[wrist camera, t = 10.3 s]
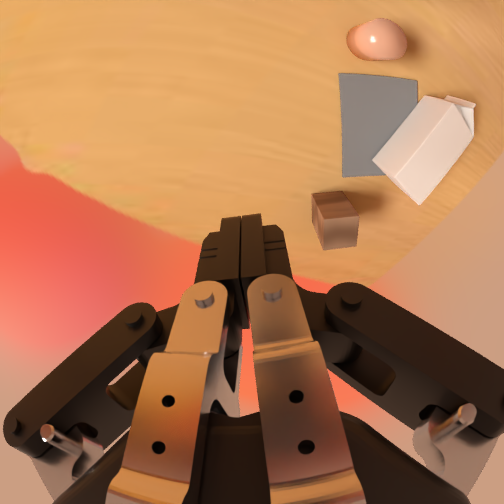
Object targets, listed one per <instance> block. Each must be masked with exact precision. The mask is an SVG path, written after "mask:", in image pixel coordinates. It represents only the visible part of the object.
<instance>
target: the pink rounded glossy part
mask: <svg viewBox="0 0 504 504" xmlns="http://www.w3.org/2000/svg"><path fill="white" fill-rule="evenodd" d="M347 45H348V47H349V49H350V51H351V52H352V53H353V54H354V55H355V56H356V57H358V58H360V59H362V60H368V61H370V60H393V59H398V58H400V57H402V56H403V55H404V54H405V52H406V49H407V39H406V36H405V34H404V32H403V31H402V29H401V28H400V27H399V26H398V25H397V24H396V23H394V22H393V21H391V20H388V19H384V18H379V19H375V20H372V21H369V22H366V23H364V24H361V25H358V26H356V27H353V28H352V29H350V31H349V32H348V34H347Z"/></svg>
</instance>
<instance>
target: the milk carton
mask: <svg viewBox="0 0 504 504" xmlns="http://www.w3.org/2000/svg"><path fill="white" fill-rule="evenodd" d="M475 106H476V104H475V103H472V102H469V101H466V100H463V99H459V98H456V97H452V96H449V95H447V96H446V97H445V99H442V98H437V97H432V96H426V95H424V97H423V98H422V99H421V100H420V102H419V103H418V104H417V106H416V107H415V108H414V109H413V111H412V112H411V113H410V114H409V116H408V117H407V118H406V119H405V121H404V122H403V123H402V124H401V125H400V127H399V128H398V129H397V130H396V132H395V133H394V134H393V135H392V137H391V138H390V139H389V140H388V141H387V143H386V144H385V145H384V146H383V147H382V149H381V150H380V151H379V152H378V153H377V155H376V156H375V157H374V158H373V160H372V161H373V162H374V163H375V164H376V165H377V166H378V167H379V168H380V169H381V170H382V171H383V172H384V173H385V174H386V175H387V176H388V177H389V178H390V179H391V180H392V181H393V182H394V183H395V184H396V185H397V186H398V187H399V188H400V189H401V190H402V191H403V192H404V193H406V194H407V195H408V196H409V197H410V198H411V199H412V200H414V201H415V202H416V203H417V204H418V205H421V204H422V202H423V201H424V200H425V199H426V198H427V197H428V195H429V194H430V193H431V192H432V191H433V189H434V188H435V187H436V186H437V185H438V183H439V182H440V181H441V180H442V178H443V177H444V176H445V175H446V173H447V172H448V171H449V170H450V168H451V167H452V166H453V164H454V163H455V162H456V161H457V159H458V158H459V157H460V155H461V154H462V153H463V151H464V150H465V149H466V147H467V146H468V144H469V143H470V142H471V140H472V139H473V137H474V107H475Z"/></svg>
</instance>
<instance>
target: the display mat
mask: <svg viewBox="0 0 504 504" xmlns="http://www.w3.org/2000/svg"><path fill="white" fill-rule="evenodd" d="M339 85H340V99H341V118H342V177H358V176H379V175H386V174H385V173H384V172H383V171H382V170H381V169H380V168H379V167H378V166H377V165H376V164H375V163H374V162H373V161H372V160H373V158H374V157H375V156H376V155H377V153H378V152H379V151H380V150H381V149H382V147H383V146H384V145H385V144H386V143H387V141H388V140H389V139H390V138H391V137H392V135H393V134H394V133H395V132H396V130H397V129H398V128H399V127H400V125H401V124H402V123H403V122H404V121H405V119H406V118H407V117H408V116H409V114H410V113H411V112H412V111H413V109H414V108H415V107H416V106H417V81H415V80H409V79H402V78H395V77H386V76H376V75H364V74H345V73H339Z"/></svg>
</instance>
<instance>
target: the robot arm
mask: <svg viewBox="0 0 504 504" xmlns="http://www.w3.org/2000/svg"><path fill="white" fill-rule="evenodd" d="M249 319H250V323H251V330H252V338H253V346H254V351H253V360H254V368H255V377H256V385H257V393H258V401H259V408H260V412H256V413H253V414H250V415H246V416H242V417H240V408H239V400H238V394H239V383H240V372H241V361H242V350H243V347H242V329H249V328H250V324H249ZM135 359H137V360H138V361H139V362H138V363H137V364H136V365H135V366H133V367H132V368H131V369H130V370H129V371H128V372H127V373H126V374H125V375H124V376H122V377H121V378H120V379H119V380H118V381H117V382H116V383H115V384H113V385H108V384H109V383H110V382H111V381H112V380H113V379H114V378H115V377H117V376H118V375H119V374H120V373H121V372H122V371H123V370H124V369H125V368H126V367H128V366H129V365H130V364H131V363H132V362H133V361H134V360H135ZM327 369H329V370H330V371H332V372H333V373H334V374H335V375H337V376H338V377H339V378H341V379H342V380H343V381H345V382H346V383H348V384H349V385H350V386H351V387H353V388H354V389H356V390H357V391H358V392H360V393H361V394H362V395H364V396H365V397H367V398H368V399H369V400H371V401H372V402H374V403H375V404H376V405H378V406H379V407H381V408H382V409H384V410H385V411H386V412H388V413H389V414H391V415H392V416H394V417H395V418H396V419H398V420H400V421H401V422H402V423H404V424H405V425H407V426H408V427H410V428H411V429H413V430H414V435H413V446H414V449H415V451H416V452H417V454H418V455H420V456H421V457H422V458H423V460H424V461H425V463H426V467H427V468H426V467H424V466H423V465H421V464H420V463H419V462H417V461H416V460H415V459H413V458H411V457H410V456H409V455H408V454H406V453H405V452H403V451H402V450H401V449H399V448H398V447H397V446H395V445H394V444H393V443H391V442H390V441H389V440H387V439H386V438H385V437H383V436H382V435H381V434H380V433H378V432H377V431H375V430H374V429H373V428H372V427H371V426H369V425H368V424H367V423H365V422H364V421H362V420H360V419H359V418H357V417H354V416H352V415H350V414H347V413H344V412H341V411H339V409H338V406H337V402H336V399H335V395H334V391H333V388H332V384H331V381H330V377H329V374H328V371H327ZM130 426H131V428H130V430H129V431H128V432H127V433H126V434H125V435H123V437H122V438H120V439H119V440H118V441H117V442H116V443H115V444H114V445H113V446H112V447H111V448H110V449H109V450H108V451H107V452H106V453H105V454H104V452H103V450H105V448H107V447H108V446H109V445H110V444H111V443H112V442H113V441H114V440H115V439H117V438H118V437H119V436H120V435H121V434H122V433H123V432H124V431H125V430H126V429H128V428H129V427H130ZM3 432H4V437H5V439H6V441H7V443H8V444H9V445H10V446H12V447H14V448H15V449H17V450H19V451H21V452H23V453H25V454H27V455H28V456H29V457H30V458H31V459H32V461H33V463H34V465H35V467H36V469H37V471H38V473H39V475H40V477H41V479H42V481H43V483H44V484H45V486H46V488H47V490H48V491H49V493H50V495H51V496H52V498H53V500H54V503H53V504H471V503H470V501H469V499H468V498H467V495H468V494H469V492H470V490H471V489H472V487H473V485H474V484H475V482H476V480H477V479H478V477H479V475H480V474H481V472H482V470H483V468H484V466H485V464H486V462H487V461H488V458H489V457H490V454H491V453H492V450H493V448H494V446H495V444H496V442H497V439H498V437H499V436H500V435H501V434H502V433H504V369H502V368H501V367H499V366H498V365H496V364H495V363H493V362H491V361H490V360H488V359H487V358H485V357H483V356H482V355H480V354H479V353H477V352H475V351H474V350H472V349H470V348H469V347H467V346H466V345H464V344H462V343H461V342H459V341H458V340H456V339H454V338H453V337H450V336H449V335H447V334H446V333H444V332H443V331H441V330H439V329H438V328H436V327H434V326H433V325H431V324H429V323H428V322H426V321H424V320H423V319H421V318H419V317H417V316H416V315H414V314H412V313H410V312H409V311H407V310H405V309H404V308H402V307H400V306H398V305H397V304H395V303H393V302H392V301H390V300H388V299H386V298H385V297H383V296H381V295H379V294H378V293H376V292H374V291H372V290H371V289H369V288H367V287H365V286H363V285H361V284H358V283H353V282H345V283H341V284H338V285H336V286H334V287H332V288H331V289H330V290H329V292H328V293H327V294H324V293H316V292H310V291H307V290H305V289H303V288H301V287H300V286H298V285H297V284H296V283H295V281H294V280H293V277H292V273H291V268H290V263H289V258H288V253H287V249H286V243H285V238H284V234H283V231H282V230H281V229H280V228H279V227H278V226H277V225H267V226H262V219H261V213H260V214H252V215H244V216H242V219H241V216H237V217H229V218H222V220H221V227H220V231H219V232H212V233H209V235H208V236H207V237H206V238H205V239H204V241H203V244H202V248H201V253H200V259H199V262H198V267H197V272H196V278H195V282H194V285H192V286H191V287H189V288H188V289H187V290H186V291H185V292H184V294H183V295H182V298H181V301H180V304H178V305H176V306H173V307H170V308H167V309H164V310H161V311H158V312H156V310H155V309H154V307H153V306H152V305H150V304H148V303H135V304H132V305H130V306H128V307H126V308H125V309H124V310H123V311H121V312H120V313H119V314H118V315H116V316H115V317H114V318H113V319H112V320H110V321H109V322H108V323H107V324H106V325H104V326H103V327H102V328H101V329H100V330H99V331H97V332H96V333H95V334H94V335H93V336H92V337H90V338H89V339H88V340H87V341H86V342H85V343H84V344H82V345H81V346H80V347H79V348H78V349H77V350H75V351H74V352H73V353H72V354H71V355H70V356H69V357H67V358H66V359H65V360H64V361H63V362H62V363H61V364H60V365H59V366H58V367H56V368H55V369H54V370H53V371H52V372H51V373H50V374H49V375H47V376H46V377H45V378H44V379H43V380H42V381H41V382H40V383H39V384H38V385H37V386H36V387H35V388H33V389H32V390H31V391H30V392H29V393H28V394H27V395H26V396H25V397H24V398H23V399H22V400H21V401H20V402H19V403H17V405H15V406H14V407H13V408H12V409H11V410H10V411H9V412H8V414H7V415H6V418H5V420H4V425H3Z"/></svg>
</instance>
